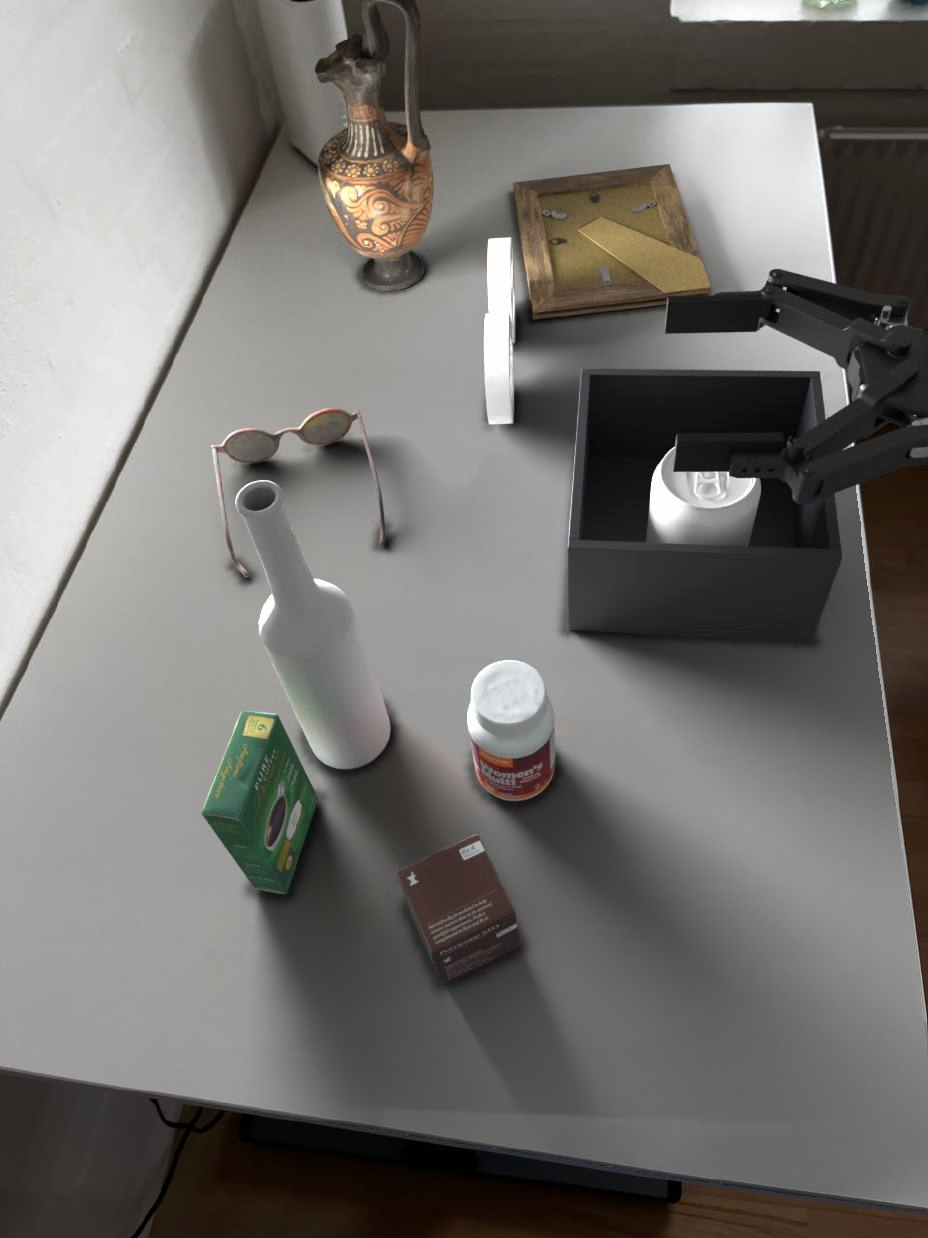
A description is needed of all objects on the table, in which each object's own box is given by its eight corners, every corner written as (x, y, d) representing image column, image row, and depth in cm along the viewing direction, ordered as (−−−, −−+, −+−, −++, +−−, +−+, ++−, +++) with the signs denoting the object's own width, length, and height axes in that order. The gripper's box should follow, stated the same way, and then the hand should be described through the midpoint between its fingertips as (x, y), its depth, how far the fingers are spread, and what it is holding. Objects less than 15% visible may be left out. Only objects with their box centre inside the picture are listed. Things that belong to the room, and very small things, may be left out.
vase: (362, 238, 116) (306, -48, 91) (463, 247, 113) (433, -45, 88) (328, 301, 110) (258, 13, 85) (434, 313, 107) (393, 19, 82)
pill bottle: (479, 808, 74) (466, 738, 64) (472, 735, 77) (458, 659, 68) (561, 798, 74) (559, 726, 64) (550, 726, 77) (547, 648, 68)
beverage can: (739, 534, 85) (761, 434, 75) (742, 611, 80) (766, 515, 70) (644, 530, 86) (654, 431, 76) (642, 606, 81) (651, 511, 72)
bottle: (376, 684, 81) (299, 440, 58) (401, 751, 77) (329, 519, 54) (299, 712, 80) (190, 476, 57) (321, 781, 76) (213, 558, 53)
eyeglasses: (365, 432, 97) (356, 394, 93) (394, 544, 89) (386, 507, 85) (220, 467, 96) (204, 430, 92) (236, 583, 88) (219, 548, 84)
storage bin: (812, 642, 79) (842, 557, 70) (568, 630, 82) (567, 547, 73) (795, 463, 90) (820, 370, 81) (580, 458, 93) (581, 367, 84)
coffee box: (286, 788, 76) (239, 705, 65) (321, 795, 75) (280, 711, 65) (252, 889, 72) (195, 817, 61) (289, 896, 71) (238, 825, 60)
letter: (513, 445, 95) (507, 364, 86) (490, 446, 95) (482, 365, 87) (515, 299, 107) (510, 215, 99) (495, 300, 107) (489, 217, 99)
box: (441, 986, 67) (428, 955, 61) (408, 907, 70) (393, 870, 64) (522, 947, 68) (517, 913, 62) (485, 870, 71) (477, 831, 65)
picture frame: (709, 301, 104) (668, 175, 117) (711, 286, 102) (669, 161, 116) (533, 321, 105) (513, 194, 118) (533, 307, 103) (512, 180, 117)
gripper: (1025, 560, 60) (673, 559, 63) (944, 300, 74) (659, 307, 77) (1077, 476, 54) (685, 478, 57) (977, 210, 68) (667, 221, 71)
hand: (669, 380), depth 67 cm, fingers open, 13 cm apart
